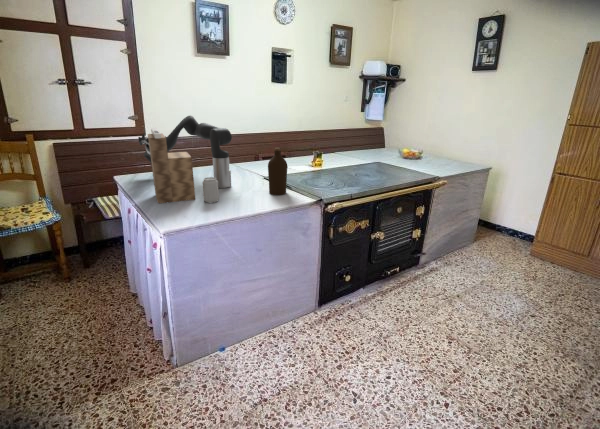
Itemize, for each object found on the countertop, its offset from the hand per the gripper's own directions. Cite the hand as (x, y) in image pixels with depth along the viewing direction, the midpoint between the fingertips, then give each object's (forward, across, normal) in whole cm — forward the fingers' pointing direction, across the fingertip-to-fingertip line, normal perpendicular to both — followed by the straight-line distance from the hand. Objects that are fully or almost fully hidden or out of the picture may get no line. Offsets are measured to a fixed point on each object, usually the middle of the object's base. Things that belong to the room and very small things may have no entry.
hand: (152, 135), depth 185 cm
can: (+14, -23, -43) cm, 51 cm away
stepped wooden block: (+2, -6, -36) cm, 36 cm away
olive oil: (+13, -60, -42) cm, 74 cm away
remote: (+16, -1, -7) cm, 17 cm away
